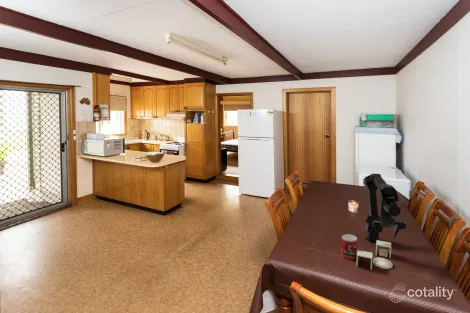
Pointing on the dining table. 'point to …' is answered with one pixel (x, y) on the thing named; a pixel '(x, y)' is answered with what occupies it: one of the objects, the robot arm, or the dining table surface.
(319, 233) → the dining table surface
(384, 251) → the block
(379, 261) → the saucer
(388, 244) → the cover
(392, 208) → the robot arm
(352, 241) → the canned food
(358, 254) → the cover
